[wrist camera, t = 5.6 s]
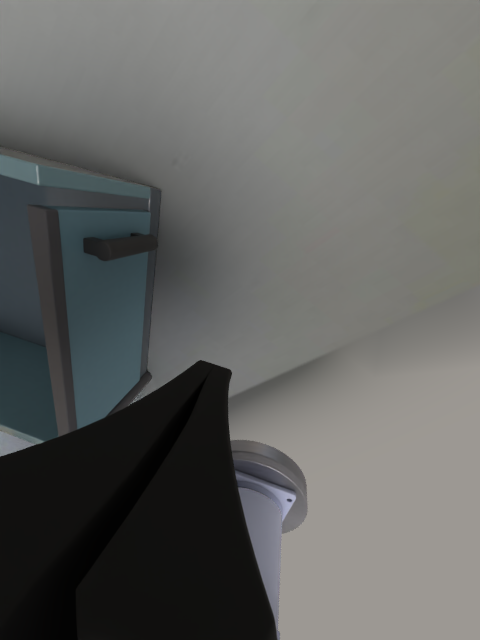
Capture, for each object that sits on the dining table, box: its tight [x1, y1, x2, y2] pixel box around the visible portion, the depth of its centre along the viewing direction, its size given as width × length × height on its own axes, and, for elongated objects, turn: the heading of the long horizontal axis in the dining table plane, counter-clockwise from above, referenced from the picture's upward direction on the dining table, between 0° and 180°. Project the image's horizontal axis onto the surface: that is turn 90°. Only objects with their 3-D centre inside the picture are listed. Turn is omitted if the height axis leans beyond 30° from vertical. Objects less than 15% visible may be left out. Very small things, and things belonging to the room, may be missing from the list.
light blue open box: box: [0, 146, 161, 445], centre depth 14 cm, size 14×14×8 cm
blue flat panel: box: [27, 204, 158, 436], centre depth 13 cm, size 12×2×6 cm, turn 166°
